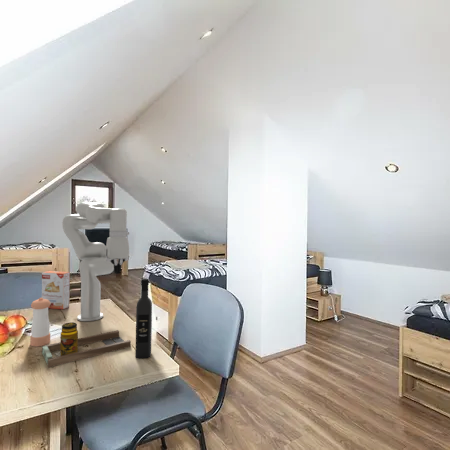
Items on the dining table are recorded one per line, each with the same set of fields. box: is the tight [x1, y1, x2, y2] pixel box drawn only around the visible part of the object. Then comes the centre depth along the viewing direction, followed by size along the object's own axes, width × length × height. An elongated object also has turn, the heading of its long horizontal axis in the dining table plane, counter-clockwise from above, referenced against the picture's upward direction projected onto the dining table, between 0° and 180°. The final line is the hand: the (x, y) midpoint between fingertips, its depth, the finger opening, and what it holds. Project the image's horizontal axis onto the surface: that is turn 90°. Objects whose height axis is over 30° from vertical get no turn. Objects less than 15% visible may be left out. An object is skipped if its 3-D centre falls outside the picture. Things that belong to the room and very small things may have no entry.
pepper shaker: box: [29, 297, 51, 347], centre depth 130 cm, size 7×7×19 cm
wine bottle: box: [134, 278, 153, 359], centre depth 121 cm, size 6×6×30 cm
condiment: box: [54, 322, 80, 357], centre depth 121 cm, size 7×8×12 cm
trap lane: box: [41, 329, 132, 368], centre depth 125 cm, size 15×30×3 cm, turn 129°
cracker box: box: [41, 270, 71, 310], centre depth 180 cm, size 14×6×21 cm, turn 81°
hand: (117, 273), depth 147 cm, fingers closed
